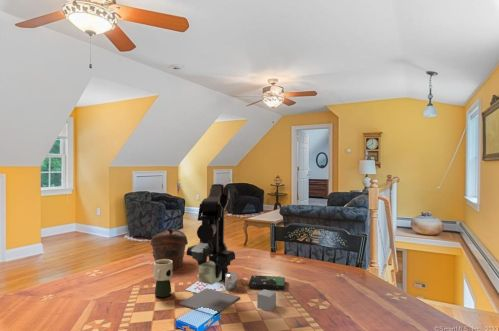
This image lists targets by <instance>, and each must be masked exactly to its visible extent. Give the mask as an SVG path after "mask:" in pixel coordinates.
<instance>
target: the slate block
mask: <svg viewBox="0 0 499 331" xmlns="http://www.w3.org/2000/svg"><path fill="white" fill-rule="evenodd" d="M256 295H257V296H256V299H257V300H256V304H257V305H256V306H257V307H256V308H257V309H260V310H264V311H267V312H271V311H272V310H273V309H274V308H276V306H277V292H276V291H275V290H265V289H264V290H260V291H259V292H257V294H256Z"/></svg>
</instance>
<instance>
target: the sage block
mask: <svg viewBox="0 0 499 331" xmlns="http://www.w3.org/2000/svg"><path fill="white" fill-rule="evenodd" d="M220 280H222V271H221V273H220V275H219V277H218V278H216V265H215V263H214V262H211V261H209V260H207V262H205V263H203V264H201V265H199V264H198V282H199V283H203V284H206V285H210V286H212V285H214V284H216V283H218V282H221V281H220Z"/></svg>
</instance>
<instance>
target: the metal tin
mask: <svg viewBox="0 0 499 331" xmlns="http://www.w3.org/2000/svg"><path fill="white" fill-rule="evenodd" d="M224 289H225V291H228V292H235V291H237V290H238V273H237V272H235V271H228V273H226V274H225V280H224Z"/></svg>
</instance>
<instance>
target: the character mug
mask: <svg viewBox="0 0 499 331" xmlns="http://www.w3.org/2000/svg"><path fill="white" fill-rule="evenodd" d="M173 270H174V269H173V261H172V260H168V259H162V260H157V261H155V260H154V262H153V279H154V280H155V288H154V295H155V296H156V297H160V298H164V297H165V298H166V297H169V296H171V293H172V285H171V279H173V275H174V274H173Z"/></svg>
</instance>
